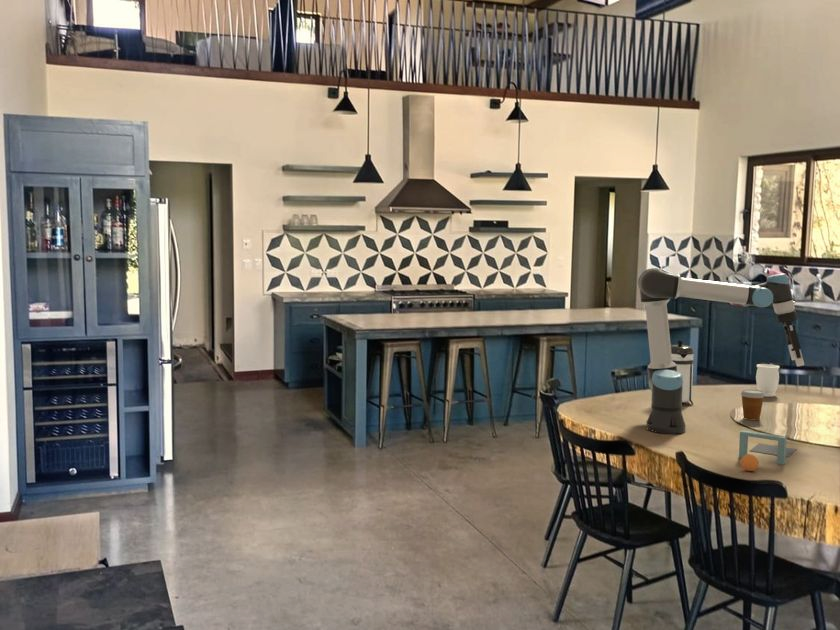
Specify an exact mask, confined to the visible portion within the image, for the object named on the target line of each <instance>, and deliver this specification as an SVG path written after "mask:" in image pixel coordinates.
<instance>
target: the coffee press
mask: <svg viewBox="0 0 840 630" xmlns="http://www.w3.org/2000/svg"><path fill="white" fill-rule="evenodd" d="M671 354H672V361H673V362H674V363H675V364H676V366H677V372H679V373H680V374H681V375H682V377H683V385H682V403H687V405H689V406H690V405H691V406H694V402H693V400H692V398H693V396H692V395H693V376H694V374H693V373H694V372H693V371H694V363H695V362H694V361H695V360H694V354H695V351H694V349H693V347H691V346H690V345H685V344H683V340H682V339H679V340H677V344H671Z"/></svg>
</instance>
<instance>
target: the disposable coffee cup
mask: <svg viewBox="0 0 840 630" xmlns="http://www.w3.org/2000/svg"><path fill="white" fill-rule="evenodd" d="M740 395H741V400H742V401H741V403H742V414H743V419H744V418H747V419H755V420H754V421H758V420H757V419H759V420H760V418H761V414H762V407H763V402H764V397H766V396H765V395H764V392H763V391H760V390H758V389H751V388H749V389H747V388H745V389H742V390H741V392H740ZM747 419H746V420H747Z"/></svg>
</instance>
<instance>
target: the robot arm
mask: <svg viewBox="0 0 840 630" xmlns="http://www.w3.org/2000/svg"><path fill="white" fill-rule="evenodd" d="M637 281H638V282H637V285H638V289H639V295H640V303H641V304H642V305H644V307H645V316H646V327H647V337H648V338H647V339H648V346H649V357H650V363H649V364H647V374H648V379H647V385H648V387H649V389H650V391H651V405H650V406H651V409H650V412H649V415H648V418H647V420H646V425H645V428H646V427H647V428H648V429H650V430H653V431H656V432H655V433H657V432H661V433H660V434H665V433H670V435H673V434H674V435H675V434H676V433H678V434H683V433H685V432H686V429H687V428H686V422H685V419H684V415H683V413H682V412H683V411H682V407H683V405H682V403H683V402H682V385H683V377H682V375H681V374H680V373H679V372H677V366H676V364H675V363H674V362H673V361H672V354H671V345H672V343H671V335H670V326H669V325H670V324H669V315H668V307H667V306H668V303H669V302H670V301H671V299H674V300H676V299H678V298H687V299H688V298H689V299H694V300H695V299H696V300H698V299H699V300H705V301H714V302H720V303H727V304H728V303H729V304H730V303H731V304H738V305H739V304H740V305H741V306H742V307H746V306H749V307H750V306H754V307H758V308H766V307H768V306H770V305H771V304H772V306H773V310H774V313H775V318H776V321H777V323H778V324H782V325H783V326H782V328H783V331H784V334H785V340H786V344H787V347H788V350H789V354H790V359H791V361H795V365H796V367H802V366H805V361H804V358H803V353H802V346H801V344H800V340H799V337H798V333H797V330H796V325H795V324H794V323H793V322H795V321H797V320H798V314H797V311H796V310H795V309H796V307H795V304H796V301H794V299H793V294H792V289H791V286H790V282H789V278H788V276H787V274H786V273H784V272H783V273H776V274H772V275H769V276H767V277H766V281H765V282H762V283H757V284H754V285H753V284H752V285H746V284H737V283H730V282H729V283H728V282H722V281H713V280H703V279H697V278H686V277H682V276H681V275H680V274H675V273H669V272H666V271H664V270H662V269H660V268H653V267H651V268H648V269H645V270H644V271H643V272H642V273H640V275H639V278H638V280H637ZM648 429H647V430H648ZM650 430H649V431H650ZM653 431H652V432H653ZM676 435H677V434H676Z"/></svg>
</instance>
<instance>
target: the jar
mask: <svg viewBox="0 0 840 630" xmlns="http://www.w3.org/2000/svg"><path fill="white" fill-rule="evenodd" d="M756 368H757V369H756V374H755V380H756V381H755V382H756V388H757V389H756V390H760V391H763V392H764V395H765V396H764V397H767V398H769V397H770V398H773V397H776V396H777V394H776V391H777V390H778V386H779V381H780V372H779V369H780V368H781V367H780V365H777V364H769V363H758V364H756Z"/></svg>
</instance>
